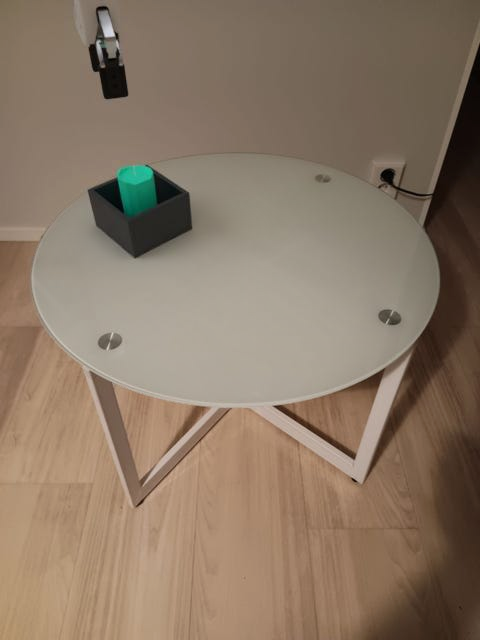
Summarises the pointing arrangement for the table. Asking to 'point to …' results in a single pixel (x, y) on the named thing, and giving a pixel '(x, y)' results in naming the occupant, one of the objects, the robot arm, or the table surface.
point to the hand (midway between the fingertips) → (110, 83)
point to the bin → (142, 215)
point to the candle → (136, 189)
